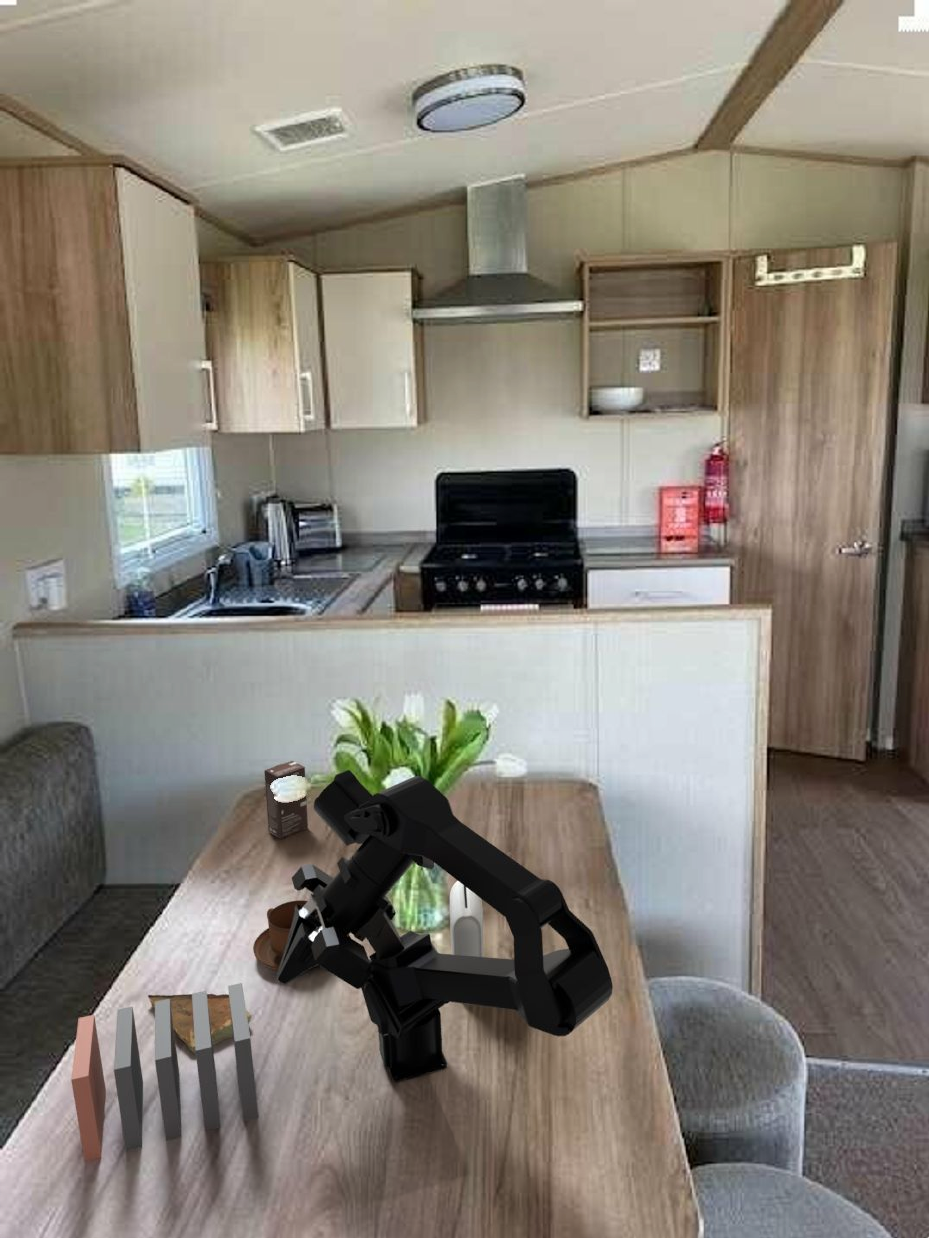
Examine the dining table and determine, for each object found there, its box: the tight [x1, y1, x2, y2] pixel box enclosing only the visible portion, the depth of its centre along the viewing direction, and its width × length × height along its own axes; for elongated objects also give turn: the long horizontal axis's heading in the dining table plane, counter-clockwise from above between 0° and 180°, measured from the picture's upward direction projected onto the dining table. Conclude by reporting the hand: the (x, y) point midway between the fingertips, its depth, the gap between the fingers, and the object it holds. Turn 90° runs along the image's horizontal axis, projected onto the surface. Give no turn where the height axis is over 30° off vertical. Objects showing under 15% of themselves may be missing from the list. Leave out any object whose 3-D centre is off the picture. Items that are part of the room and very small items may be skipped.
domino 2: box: [113, 1006, 144, 1152], centre depth 101 cm, size 2×10×10 cm, turn 18°
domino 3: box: [154, 999, 183, 1142], centre depth 102 cm, size 2×10×10 cm, turn 18°
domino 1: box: [70, 1014, 107, 1163], centre depth 100 cm, size 2×10×10 cm, turn 18°
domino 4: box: [191, 990, 221, 1132], centre depth 103 cm, size 2×10×10 cm, turn 18°
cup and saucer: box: [252, 899, 319, 971], centre depth 130 cm, size 12×12×6 cm
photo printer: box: [449, 880, 485, 957], centre depth 123 cm, size 10×4×12 cm, turn 2°
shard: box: [147, 993, 252, 1055], centre depth 118 cm, size 13×9×2 cm
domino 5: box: [227, 982, 259, 1122], centre depth 104 cm, size 2×10×10 cm, turn 18°
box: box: [264, 760, 309, 839], centre depth 165 cm, size 6×4×12 cm
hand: (280, 980), depth 104 cm, fingers closed
